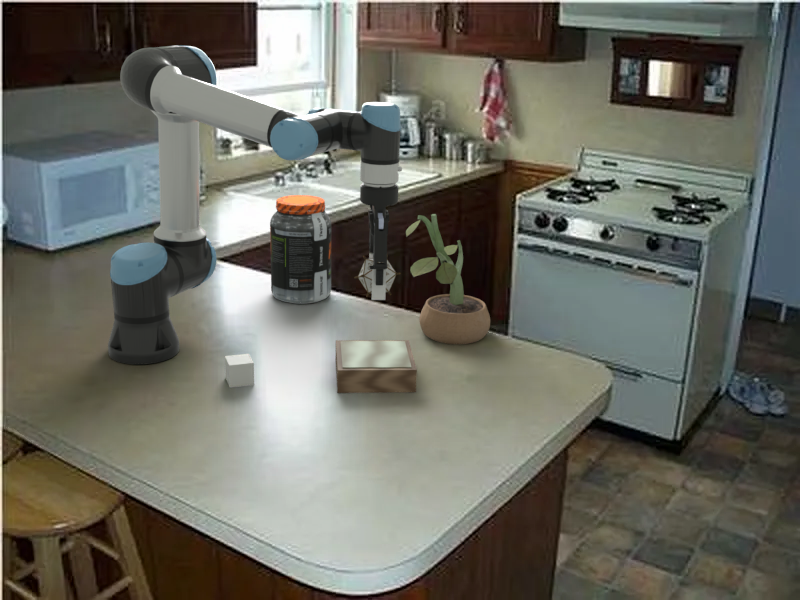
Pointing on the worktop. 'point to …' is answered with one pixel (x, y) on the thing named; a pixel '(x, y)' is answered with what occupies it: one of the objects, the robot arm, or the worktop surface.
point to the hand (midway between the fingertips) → (376, 291)
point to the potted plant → (449, 295)
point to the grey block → (239, 370)
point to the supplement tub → (300, 250)
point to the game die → (366, 275)
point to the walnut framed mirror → (375, 366)
